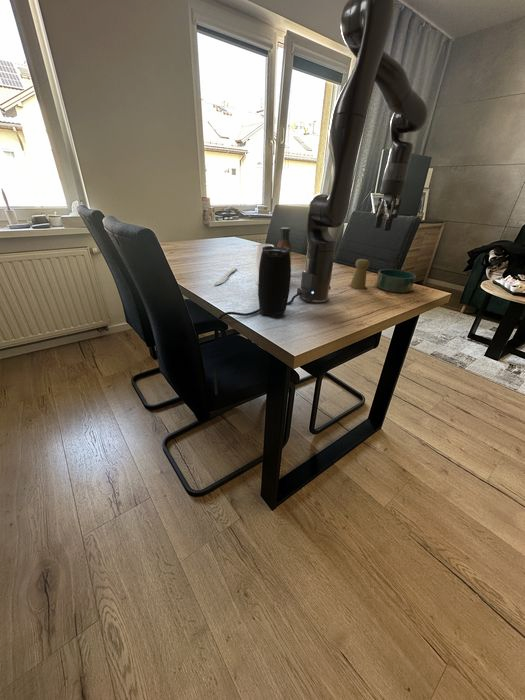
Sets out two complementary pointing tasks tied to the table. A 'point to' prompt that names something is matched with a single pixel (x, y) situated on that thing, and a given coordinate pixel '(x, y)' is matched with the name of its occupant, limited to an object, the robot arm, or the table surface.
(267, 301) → the portable speaker
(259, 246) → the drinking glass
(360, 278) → the cork
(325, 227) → the robot arm
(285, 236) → the sauce bottle
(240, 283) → the table surface
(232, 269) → the butter knife
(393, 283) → the teal shallow bowl
